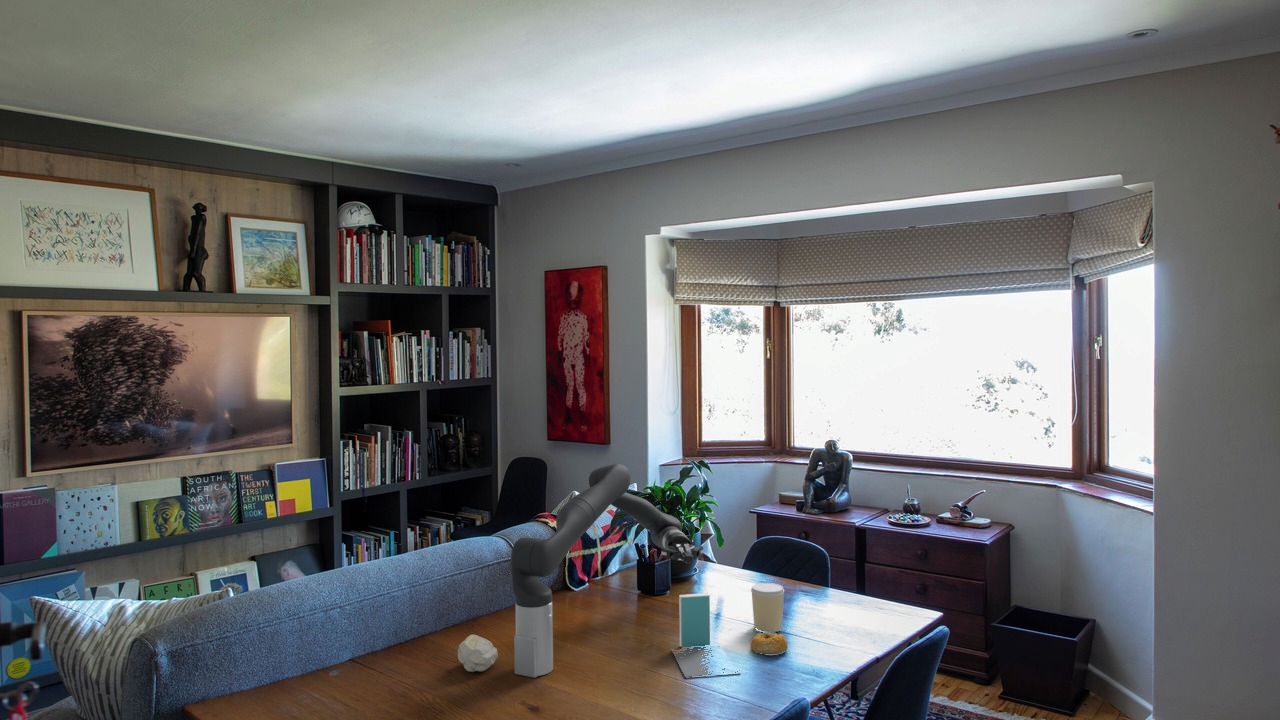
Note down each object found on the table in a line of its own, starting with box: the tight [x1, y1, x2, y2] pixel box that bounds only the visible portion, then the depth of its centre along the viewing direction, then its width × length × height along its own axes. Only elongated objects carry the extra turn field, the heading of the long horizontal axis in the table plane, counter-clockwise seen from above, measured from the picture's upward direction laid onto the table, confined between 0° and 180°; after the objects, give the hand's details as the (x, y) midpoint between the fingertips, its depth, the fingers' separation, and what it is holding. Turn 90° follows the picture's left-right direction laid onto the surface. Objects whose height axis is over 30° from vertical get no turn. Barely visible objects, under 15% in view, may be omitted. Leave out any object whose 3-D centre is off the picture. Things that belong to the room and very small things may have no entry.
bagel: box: [750, 632, 789, 655], centre depth 215 cm, size 10×11×5 cm
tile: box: [678, 592, 711, 647], centre depth 218 cm, size 2×8×14 cm, turn 99°
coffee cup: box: [750, 582, 785, 632], centre depth 231 cm, size 9×9×12 cm
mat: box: [671, 647, 738, 678], centre depth 207 cm, size 18×14×1 cm
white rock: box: [457, 634, 499, 673], centre depth 205 cm, size 12×8×10 cm
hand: (689, 559), depth 224 cm, fingers closed
